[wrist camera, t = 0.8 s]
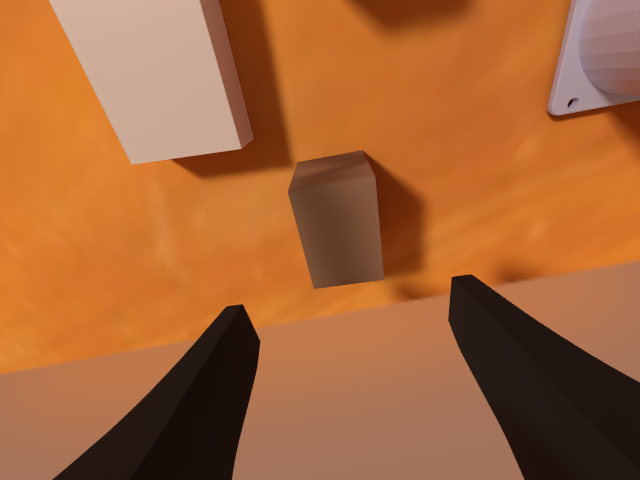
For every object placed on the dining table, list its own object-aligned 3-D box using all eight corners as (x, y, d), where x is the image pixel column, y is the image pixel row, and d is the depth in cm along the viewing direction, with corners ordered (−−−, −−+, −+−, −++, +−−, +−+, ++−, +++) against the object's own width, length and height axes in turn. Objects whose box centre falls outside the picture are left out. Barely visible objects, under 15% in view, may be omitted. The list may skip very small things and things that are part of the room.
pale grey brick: (208, -50, 12) (175, -84, 9) (255, 137, 16) (241, 148, 13) (86, -23, 12) (23, -50, 10) (162, 151, 17) (131, 164, 14)
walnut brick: (362, 149, 16) (375, 176, 12) (371, 234, 19) (384, 279, 15) (297, 162, 16) (287, 191, 12) (316, 242, 20) (314, 289, 15)
